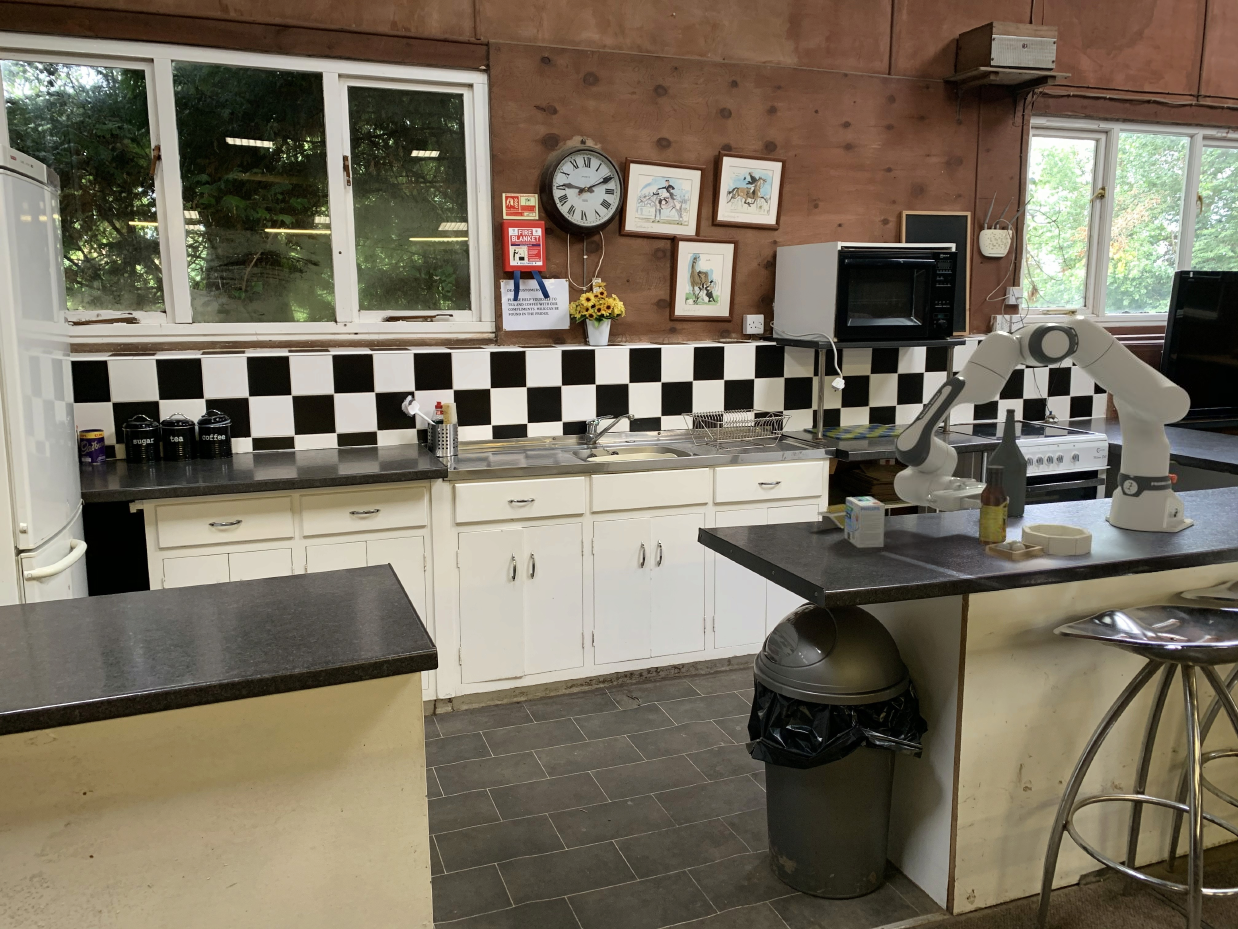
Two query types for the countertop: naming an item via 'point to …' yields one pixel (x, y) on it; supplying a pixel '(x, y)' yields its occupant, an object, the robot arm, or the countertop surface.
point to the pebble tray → (1029, 553)
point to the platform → (833, 517)
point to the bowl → (1058, 538)
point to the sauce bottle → (993, 508)
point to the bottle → (1011, 467)
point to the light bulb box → (864, 522)
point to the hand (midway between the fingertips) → (994, 502)
